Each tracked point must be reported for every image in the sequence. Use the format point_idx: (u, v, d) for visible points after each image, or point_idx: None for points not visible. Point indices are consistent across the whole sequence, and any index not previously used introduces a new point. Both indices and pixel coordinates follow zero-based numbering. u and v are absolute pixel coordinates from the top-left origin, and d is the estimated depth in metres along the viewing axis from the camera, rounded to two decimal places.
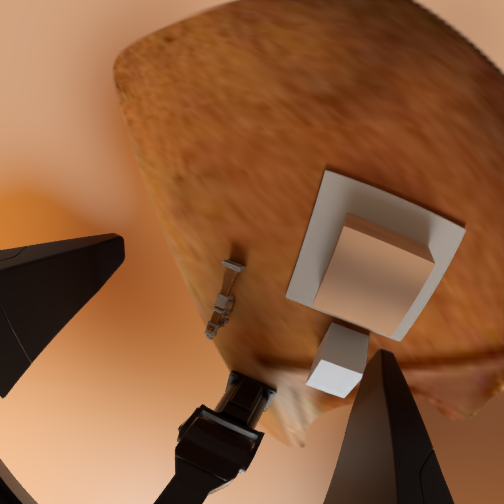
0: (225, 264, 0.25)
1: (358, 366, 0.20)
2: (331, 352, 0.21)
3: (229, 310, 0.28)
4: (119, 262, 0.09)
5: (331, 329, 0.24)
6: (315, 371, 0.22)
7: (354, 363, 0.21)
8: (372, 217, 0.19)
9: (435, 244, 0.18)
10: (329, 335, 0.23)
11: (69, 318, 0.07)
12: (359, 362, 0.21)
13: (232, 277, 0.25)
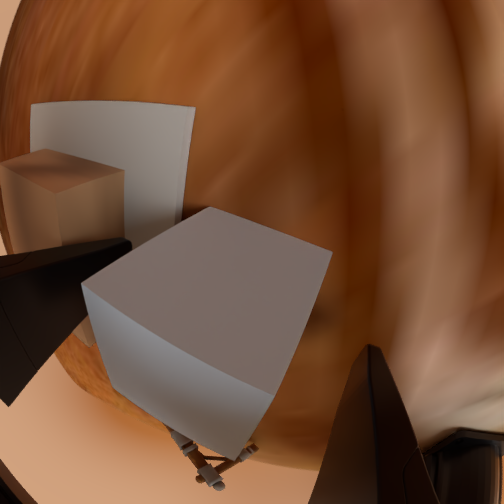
0: None
1: None
2: None
3: None
4: None
5: None
6: (158, 419, 0.06)
7: None
8: None
9: (43, 138, 0.10)
10: None
11: (76, 325, 0.07)
12: None
13: None
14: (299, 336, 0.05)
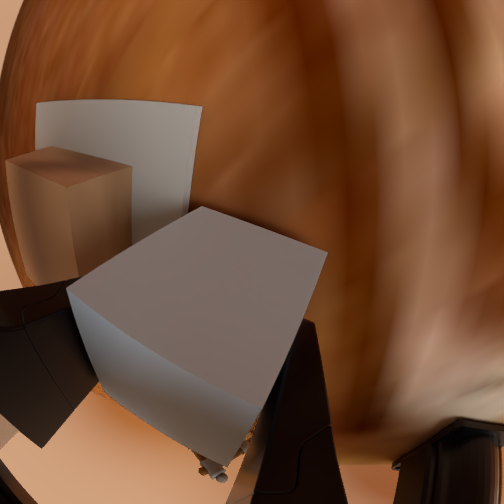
0: None
1: None
2: None
3: None
4: None
5: None
6: (150, 424, 0.06)
7: None
8: None
9: (48, 136, 0.11)
10: None
11: None
12: None
13: None
14: (289, 343, 0.04)
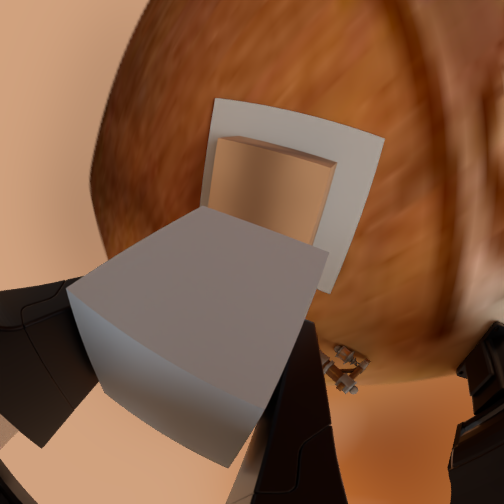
0: None
1: None
2: None
3: (348, 355, 0.22)
4: None
5: None
6: (150, 425, 0.06)
7: None
8: None
9: (236, 127, 0.18)
10: None
11: None
12: None
13: None
14: (292, 344, 0.04)
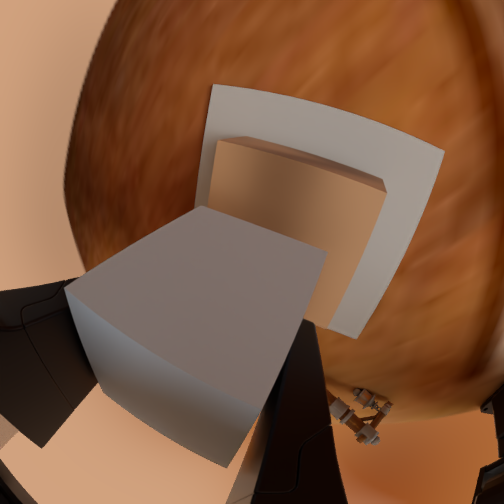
0: None
1: None
2: None
3: (369, 400, 0.17)
4: None
5: None
6: (149, 425, 0.06)
7: None
8: None
9: (242, 124, 0.13)
10: None
11: None
12: None
13: None
14: (289, 344, 0.04)
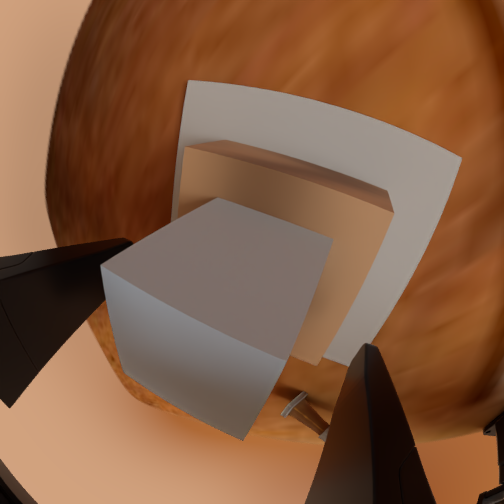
0: (284, 414, 0.16)
1: None
2: None
3: None
4: None
5: None
6: (169, 401, 0.07)
7: None
8: None
9: (220, 126, 0.11)
10: None
11: (77, 326, 0.07)
12: None
13: (301, 415, 0.16)
14: (306, 311, 0.05)
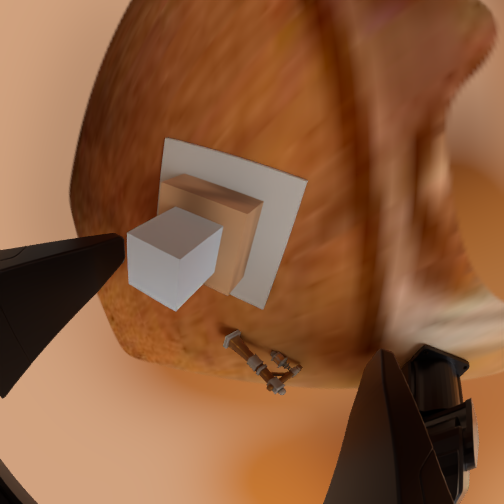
0: (225, 346, 0.27)
1: None
2: None
3: (281, 361, 0.26)
4: (119, 262, 0.09)
5: None
6: (147, 293, 0.17)
7: None
8: None
9: (182, 166, 0.21)
10: None
11: (68, 318, 0.07)
12: None
13: (235, 345, 0.26)
14: (193, 248, 0.15)
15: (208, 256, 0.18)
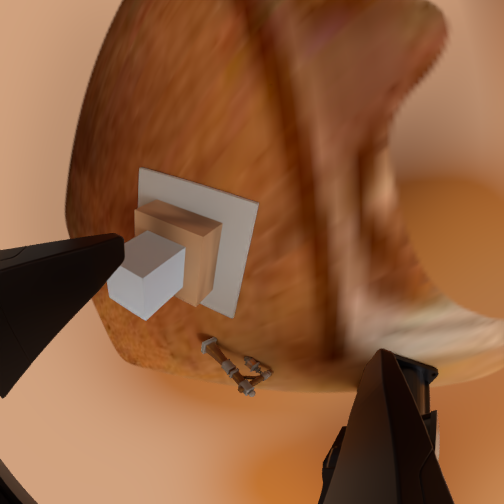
0: (202, 351, 0.29)
1: None
2: None
3: (253, 365, 0.28)
4: (119, 262, 0.09)
5: None
6: (123, 305, 0.19)
7: None
8: None
9: (154, 193, 0.24)
10: None
11: (68, 318, 0.07)
12: None
13: (211, 351, 0.28)
14: (155, 268, 0.18)
15: (173, 273, 0.21)
